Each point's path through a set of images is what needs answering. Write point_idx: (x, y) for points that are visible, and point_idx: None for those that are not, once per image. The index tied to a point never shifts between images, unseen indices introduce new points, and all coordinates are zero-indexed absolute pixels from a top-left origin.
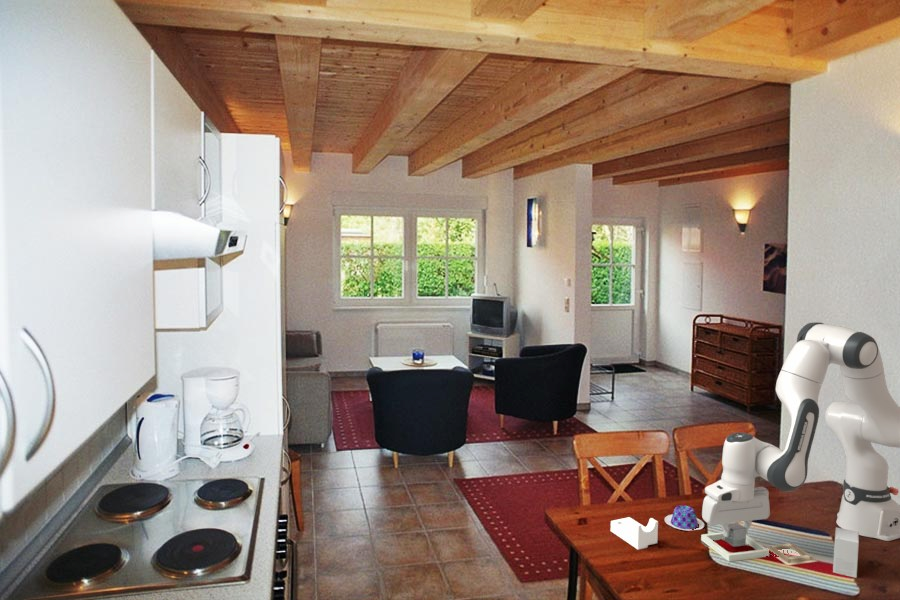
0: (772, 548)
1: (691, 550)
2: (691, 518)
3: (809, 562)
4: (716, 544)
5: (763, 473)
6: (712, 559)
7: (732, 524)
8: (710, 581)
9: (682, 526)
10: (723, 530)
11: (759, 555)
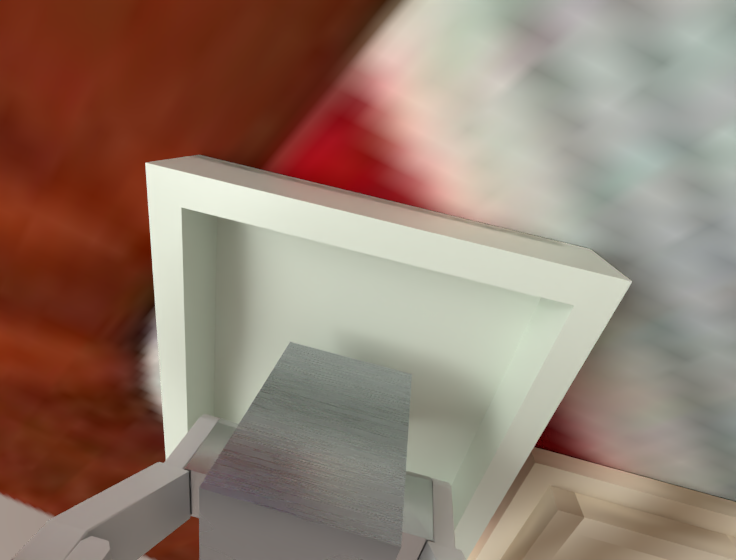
0: (546, 533)
1: (64, 218)
2: None
3: None
4: (173, 357)
5: None
6: (142, 358)
7: (286, 537)
8: (33, 461)
9: None
10: (173, 455)
11: None
